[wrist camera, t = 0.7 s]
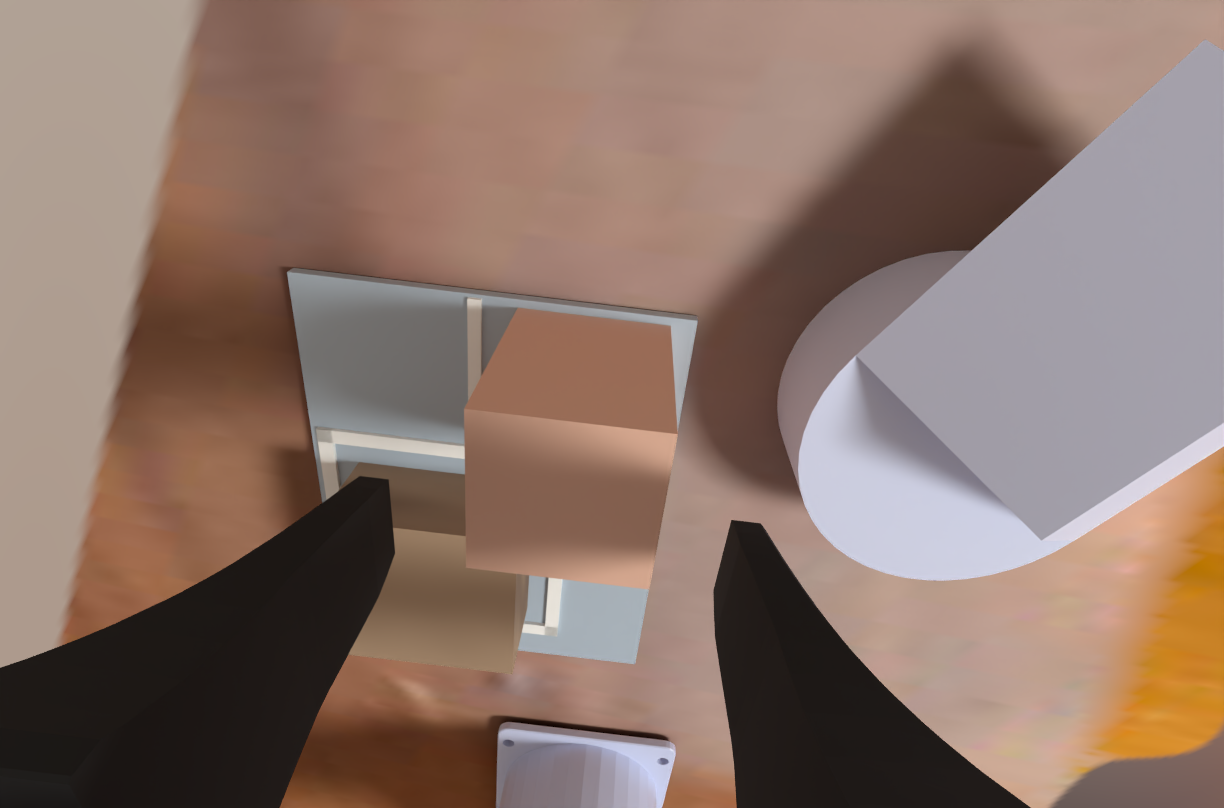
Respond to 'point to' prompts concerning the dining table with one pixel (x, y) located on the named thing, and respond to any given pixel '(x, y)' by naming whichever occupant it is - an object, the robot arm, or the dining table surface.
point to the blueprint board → (445, 412)
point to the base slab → (439, 583)
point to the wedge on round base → (1028, 358)
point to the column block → (571, 449)
